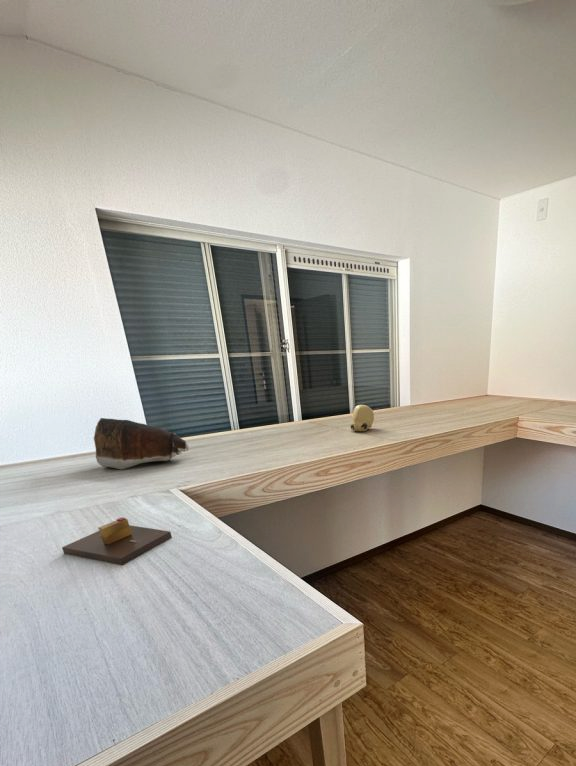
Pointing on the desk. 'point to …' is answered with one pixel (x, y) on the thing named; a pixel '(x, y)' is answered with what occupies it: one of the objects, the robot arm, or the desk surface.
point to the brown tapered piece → (134, 443)
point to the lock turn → (115, 531)
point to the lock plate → (118, 545)
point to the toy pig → (362, 418)
